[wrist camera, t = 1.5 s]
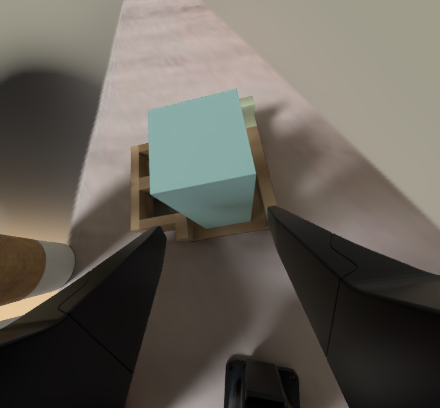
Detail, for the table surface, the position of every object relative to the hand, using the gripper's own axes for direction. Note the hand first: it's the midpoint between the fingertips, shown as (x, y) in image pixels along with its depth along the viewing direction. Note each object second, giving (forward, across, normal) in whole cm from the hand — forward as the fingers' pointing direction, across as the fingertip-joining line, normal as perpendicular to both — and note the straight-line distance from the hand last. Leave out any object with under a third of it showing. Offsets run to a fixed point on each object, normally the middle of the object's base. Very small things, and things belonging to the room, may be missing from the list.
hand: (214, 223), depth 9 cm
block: (+10, 0, +5) cm, 11 cm away
